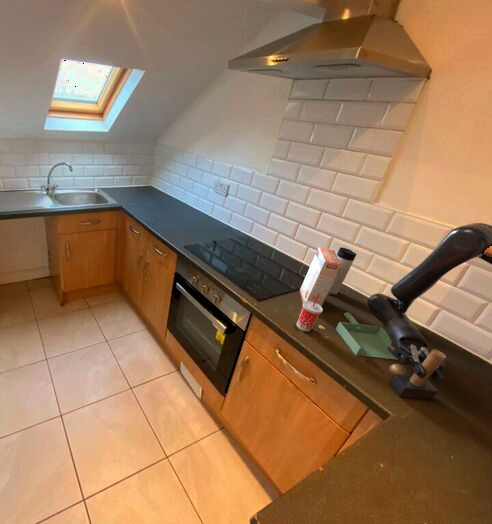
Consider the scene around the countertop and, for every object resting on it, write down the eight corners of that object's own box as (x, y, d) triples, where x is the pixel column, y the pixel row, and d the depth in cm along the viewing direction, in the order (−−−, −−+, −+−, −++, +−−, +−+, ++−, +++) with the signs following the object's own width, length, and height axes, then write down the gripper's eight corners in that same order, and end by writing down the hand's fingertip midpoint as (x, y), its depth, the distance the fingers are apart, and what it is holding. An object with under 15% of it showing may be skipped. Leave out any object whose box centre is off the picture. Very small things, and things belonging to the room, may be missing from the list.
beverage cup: (305, 334, 101) (321, 301, 94) (290, 323, 106) (304, 290, 99) (316, 330, 104) (333, 297, 97) (301, 319, 109) (316, 287, 102)
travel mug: (317, 286, 131) (335, 245, 121) (330, 287, 132) (350, 246, 122) (326, 295, 125) (346, 252, 116) (340, 295, 126) (361, 253, 117)
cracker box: (319, 313, 113) (343, 265, 103) (302, 308, 115) (324, 260, 105) (314, 294, 125) (335, 249, 115) (299, 290, 127) (318, 245, 117)
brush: (418, 386, 85) (449, 349, 78) (431, 399, 82) (464, 362, 74) (387, 382, 85) (415, 345, 78) (398, 396, 82) (428, 358, 74)
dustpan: (402, 360, 95) (407, 353, 93) (355, 355, 95) (360, 347, 93) (363, 319, 113) (367, 312, 111) (324, 314, 113) (327, 308, 111)
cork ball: (409, 366, 87) (402, 375, 89) (393, 358, 89) (386, 368, 91) (409, 373, 84) (402, 383, 86) (392, 365, 86) (385, 375, 88)
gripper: (384, 319, 91) (407, 359, 77) (438, 333, 88) (473, 377, 73) (372, 337, 95) (392, 379, 80) (424, 352, 91) (455, 397, 77)
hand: (431, 378), depth 77 cm, fingers closed on brush, 3 cm apart
